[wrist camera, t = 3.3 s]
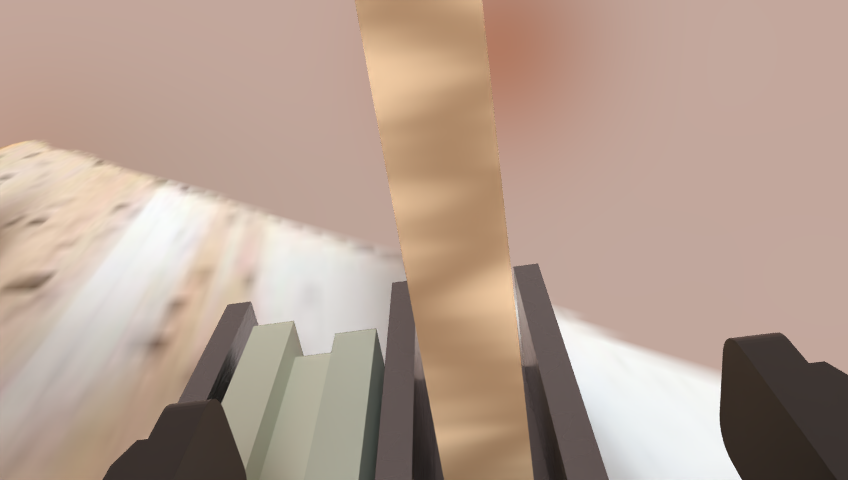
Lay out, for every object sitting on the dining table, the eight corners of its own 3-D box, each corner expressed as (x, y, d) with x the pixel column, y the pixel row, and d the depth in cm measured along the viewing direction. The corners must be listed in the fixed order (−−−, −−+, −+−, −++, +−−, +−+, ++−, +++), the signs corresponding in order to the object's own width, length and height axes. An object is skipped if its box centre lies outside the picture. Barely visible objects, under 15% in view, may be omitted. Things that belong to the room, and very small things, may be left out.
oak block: (461, 575, 21) (321, -179, 12) (454, 438, 26) (353, -148, 17) (543, 567, 20) (460, -204, 12) (518, 431, 26) (448, -165, 17)
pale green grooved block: (218, 662, 19) (163, 541, 17) (284, 425, 28) (253, 326, 26) (383, 646, 19) (347, 521, 17) (396, 411, 28) (374, 310, 26)
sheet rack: (150, 766, 18) (66, 621, 15) (264, 416, 31) (227, 304, 28) (639, 723, 17) (636, 563, 14) (548, 381, 30) (537, 263, 27)
